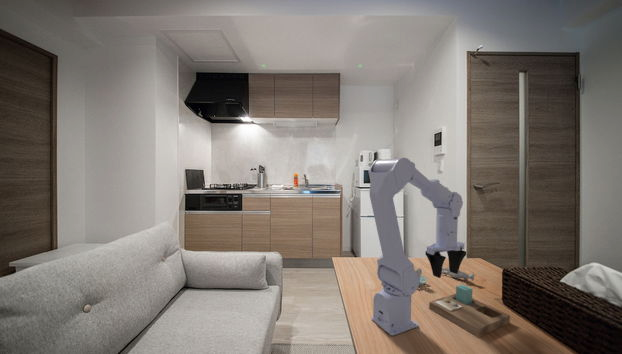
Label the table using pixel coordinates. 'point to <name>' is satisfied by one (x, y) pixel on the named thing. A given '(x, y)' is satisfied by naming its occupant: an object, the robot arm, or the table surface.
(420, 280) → the pacifier
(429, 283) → the table surface
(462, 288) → the teal rectangular block
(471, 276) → the soldier figure
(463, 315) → the wooden sorting tray
